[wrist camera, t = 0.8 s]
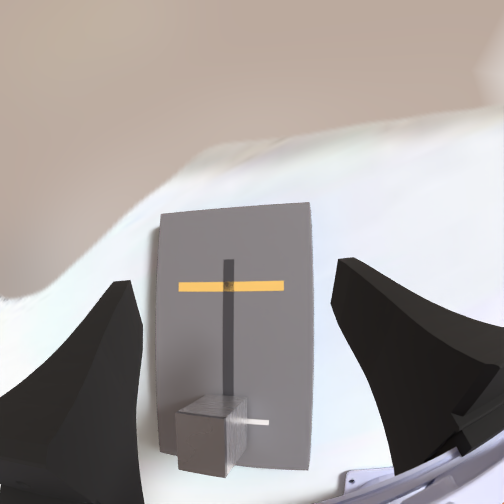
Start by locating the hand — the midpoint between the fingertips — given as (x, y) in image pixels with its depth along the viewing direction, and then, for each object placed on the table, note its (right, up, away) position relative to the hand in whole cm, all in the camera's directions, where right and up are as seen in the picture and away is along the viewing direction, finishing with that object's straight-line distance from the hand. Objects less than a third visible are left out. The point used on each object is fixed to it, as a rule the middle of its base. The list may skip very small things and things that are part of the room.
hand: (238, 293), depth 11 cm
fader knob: (-1, -11, +10) cm, 15 cm away
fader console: (-1, -5, +14) cm, 15 cm away
